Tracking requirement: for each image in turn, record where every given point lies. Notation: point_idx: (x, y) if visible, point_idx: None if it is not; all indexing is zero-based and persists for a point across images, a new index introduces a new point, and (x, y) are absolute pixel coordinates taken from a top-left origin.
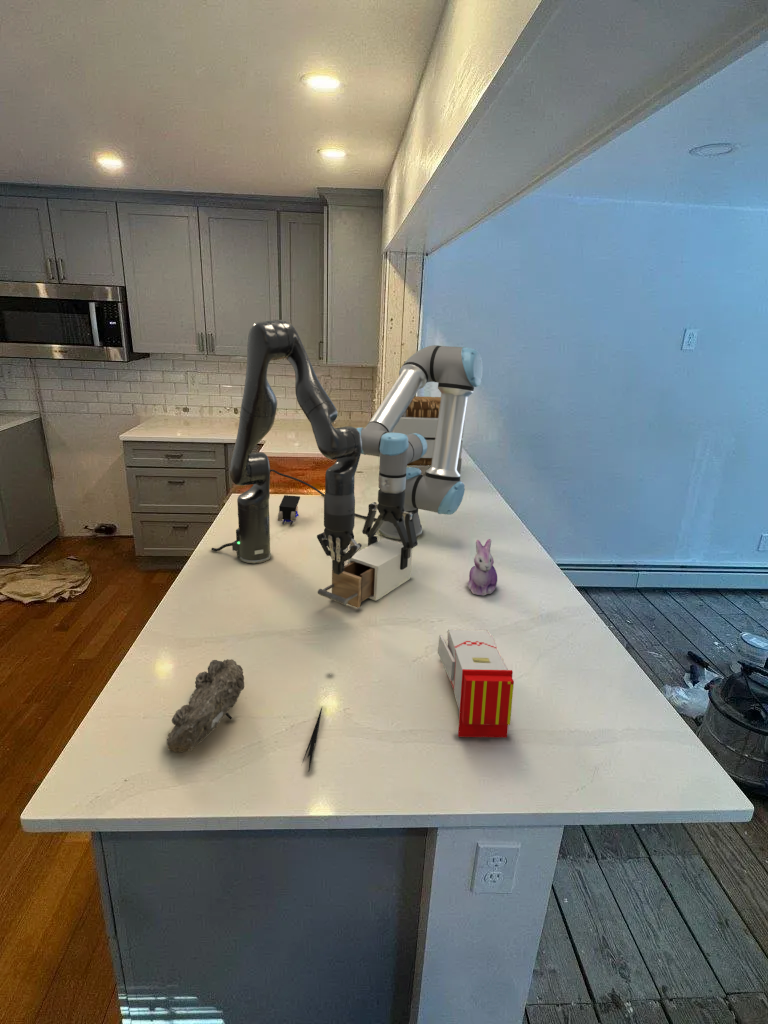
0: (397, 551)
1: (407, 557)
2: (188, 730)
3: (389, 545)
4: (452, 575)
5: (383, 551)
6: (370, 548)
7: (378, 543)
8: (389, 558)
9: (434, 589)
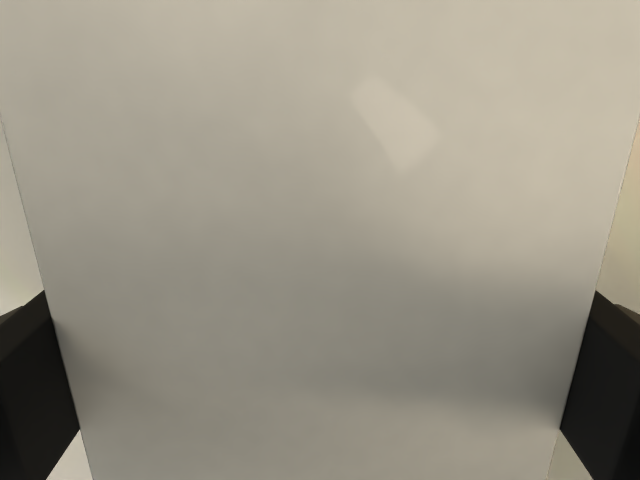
0: (127, 332)
1: (2, 320)
2: None
3: (345, 420)
4: (65, 476)
5: (283, 199)
6: (534, 160)
7: (511, 386)
8: (6, 10)
9: (7, 288)
